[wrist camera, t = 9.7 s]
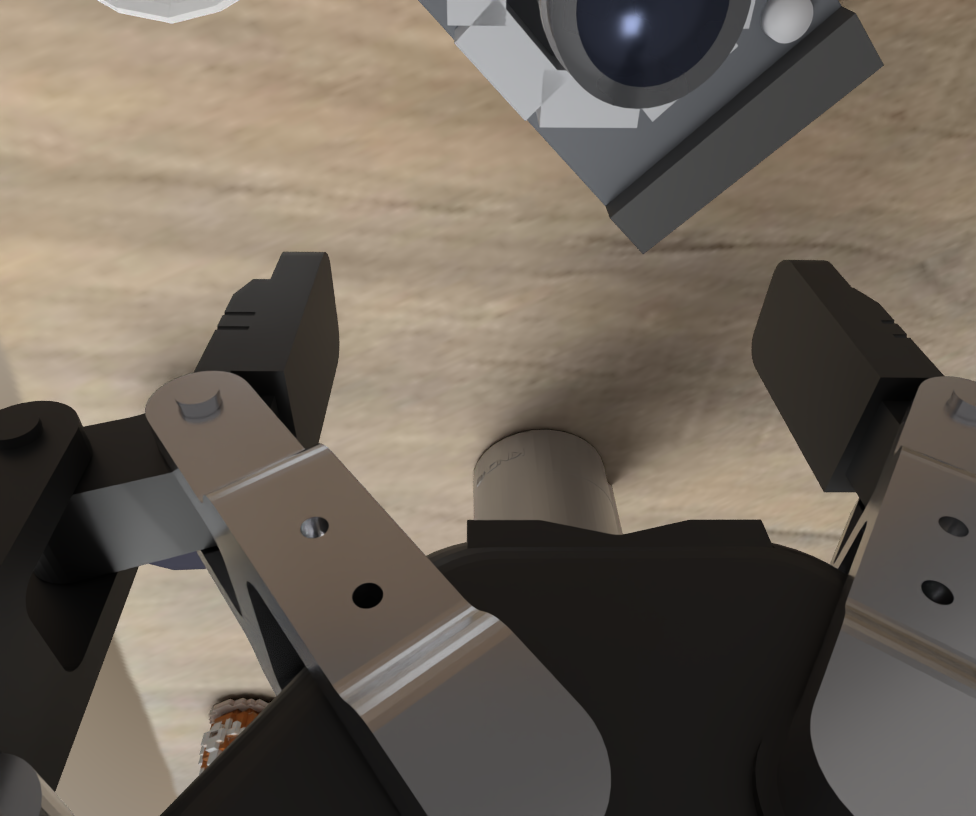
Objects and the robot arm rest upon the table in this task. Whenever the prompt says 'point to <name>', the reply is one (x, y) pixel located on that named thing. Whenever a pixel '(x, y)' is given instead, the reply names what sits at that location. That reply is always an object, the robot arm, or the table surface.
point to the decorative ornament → (227, 726)
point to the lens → (642, 45)
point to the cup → (168, 8)
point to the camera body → (677, 125)
